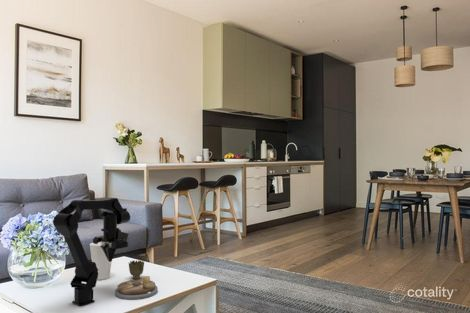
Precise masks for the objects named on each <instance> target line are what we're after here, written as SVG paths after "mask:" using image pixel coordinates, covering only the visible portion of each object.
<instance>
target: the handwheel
mask: <svg viewBox="0 0 470 313" xmlns="http://www.w3.org/2000/svg"><path fill="white" fill-rule="evenodd" d="M155 285H156V282H155V281H153V280H151V277H150V275H144V276H142V279H140V278H139V279H132V280H131V279H129V280H126V281H122V282H120V283H119V284H117V288H116V289H117V291H118V292H119V293H122V294H127V295H136V294H144V293H148V292H150V291H152V290H154V289H155Z"/></svg>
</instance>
